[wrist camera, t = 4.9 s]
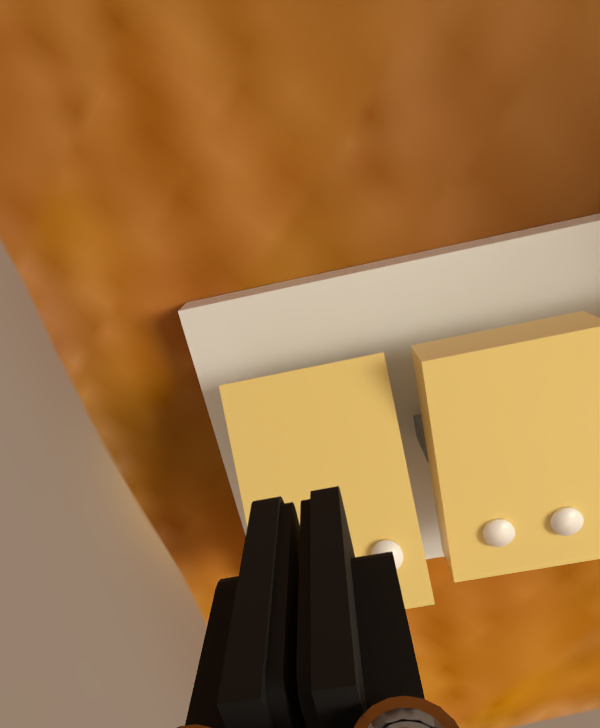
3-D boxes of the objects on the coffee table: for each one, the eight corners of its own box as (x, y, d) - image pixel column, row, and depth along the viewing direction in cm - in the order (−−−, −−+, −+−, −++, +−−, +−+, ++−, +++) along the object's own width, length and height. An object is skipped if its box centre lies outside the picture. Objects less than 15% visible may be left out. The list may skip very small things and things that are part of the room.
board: (186, 302, 22) (163, 325, 18) (749, 181, 20) (845, 179, 17) (263, 564, 26) (256, 623, 23) (729, 484, 25) (802, 535, 21)
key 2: (410, 345, 18) (422, 364, 16) (583, 310, 18) (616, 325, 16) (442, 550, 21) (455, 586, 19) (591, 525, 21) (620, 559, 19)
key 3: (229, 382, 20) (217, 385, 18) (379, 352, 20) (384, 352, 18) (274, 606, 20) (267, 633, 18) (426, 581, 20) (435, 607, 18)
